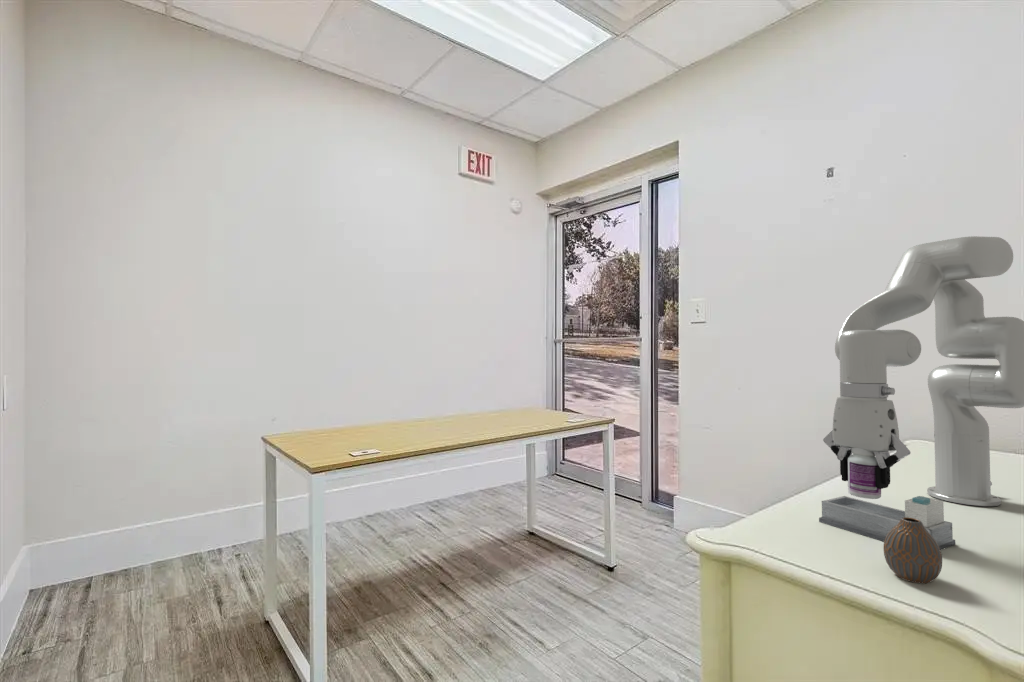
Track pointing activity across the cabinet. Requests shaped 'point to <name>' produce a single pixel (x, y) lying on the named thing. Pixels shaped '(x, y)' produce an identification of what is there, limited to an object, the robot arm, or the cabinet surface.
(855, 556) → the cabinet surface
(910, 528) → the vase
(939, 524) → the grey tray
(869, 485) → the pill bottle
